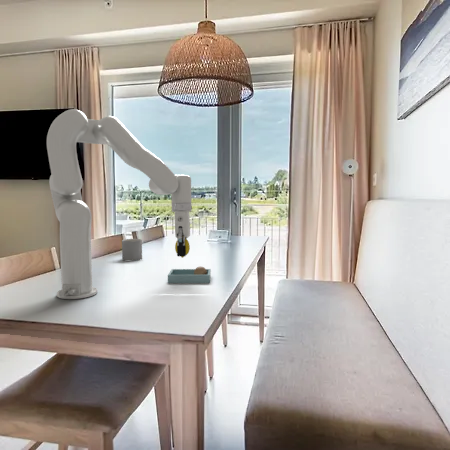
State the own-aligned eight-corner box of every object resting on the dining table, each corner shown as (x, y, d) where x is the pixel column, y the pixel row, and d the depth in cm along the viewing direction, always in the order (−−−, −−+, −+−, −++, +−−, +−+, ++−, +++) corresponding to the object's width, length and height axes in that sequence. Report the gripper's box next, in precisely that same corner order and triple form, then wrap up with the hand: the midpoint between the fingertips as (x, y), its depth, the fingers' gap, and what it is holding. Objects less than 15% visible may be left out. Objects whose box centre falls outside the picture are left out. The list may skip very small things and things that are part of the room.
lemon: (182, 255, 145) (182, 235, 145) (192, 257, 142) (192, 236, 141) (172, 257, 141) (171, 237, 140) (182, 259, 138) (182, 238, 137)
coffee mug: (139, 260, 185) (138, 241, 184) (119, 260, 185) (119, 241, 185) (146, 256, 198) (145, 238, 197) (127, 256, 199) (127, 237, 198)
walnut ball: (206, 280, 140) (206, 267, 139) (193, 280, 140) (193, 267, 139) (207, 277, 145) (207, 265, 144) (194, 277, 145) (194, 265, 144)
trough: (209, 284, 137) (209, 275, 136) (167, 284, 137) (167, 275, 136) (210, 277, 148) (210, 269, 148) (171, 277, 148) (171, 269, 147)
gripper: (189, 208, 131) (190, 258, 133) (193, 206, 148) (193, 251, 150) (168, 208, 131) (169, 258, 133) (174, 206, 148) (175, 251, 150)
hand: (182, 254), depth 141 cm, fingers closed on lemon, 5 cm apart
